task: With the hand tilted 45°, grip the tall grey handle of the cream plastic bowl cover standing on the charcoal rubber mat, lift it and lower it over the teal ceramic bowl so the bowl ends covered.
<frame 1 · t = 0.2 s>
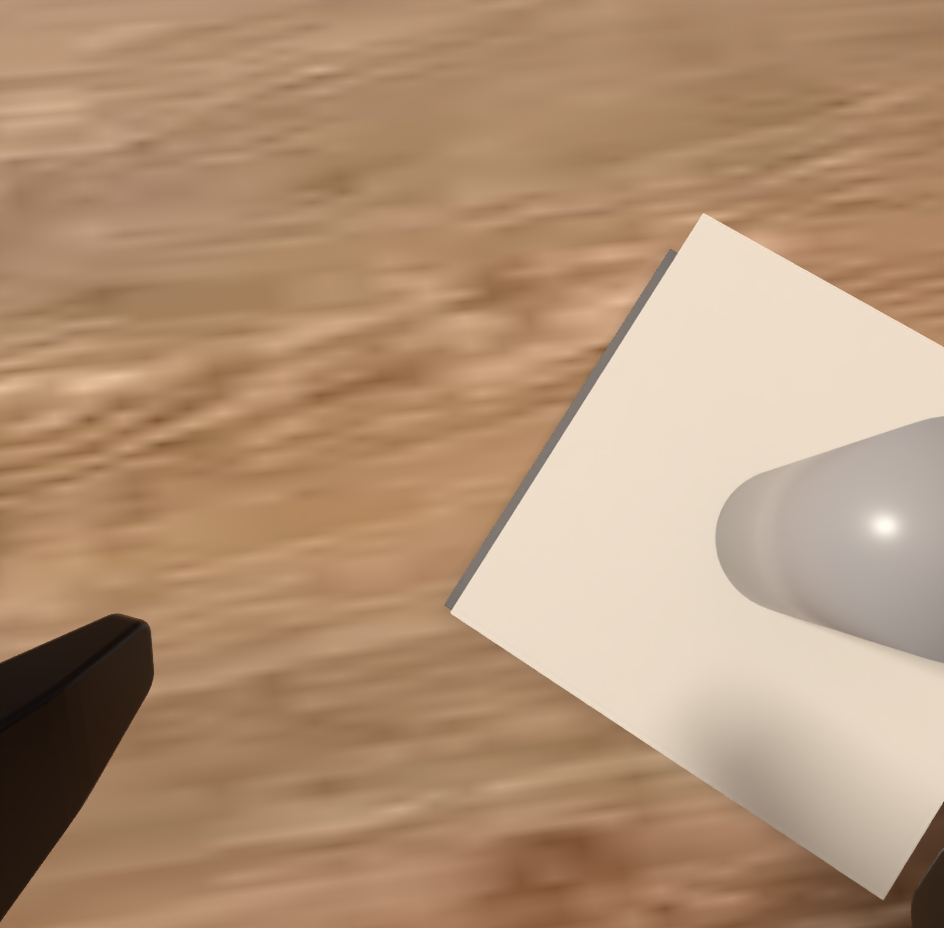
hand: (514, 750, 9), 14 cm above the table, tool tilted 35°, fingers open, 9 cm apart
charcoal rubber mat: (741, 540, 23), on the table
cream bowl cover: (744, 540, 22), resting on charcoal rubber mat
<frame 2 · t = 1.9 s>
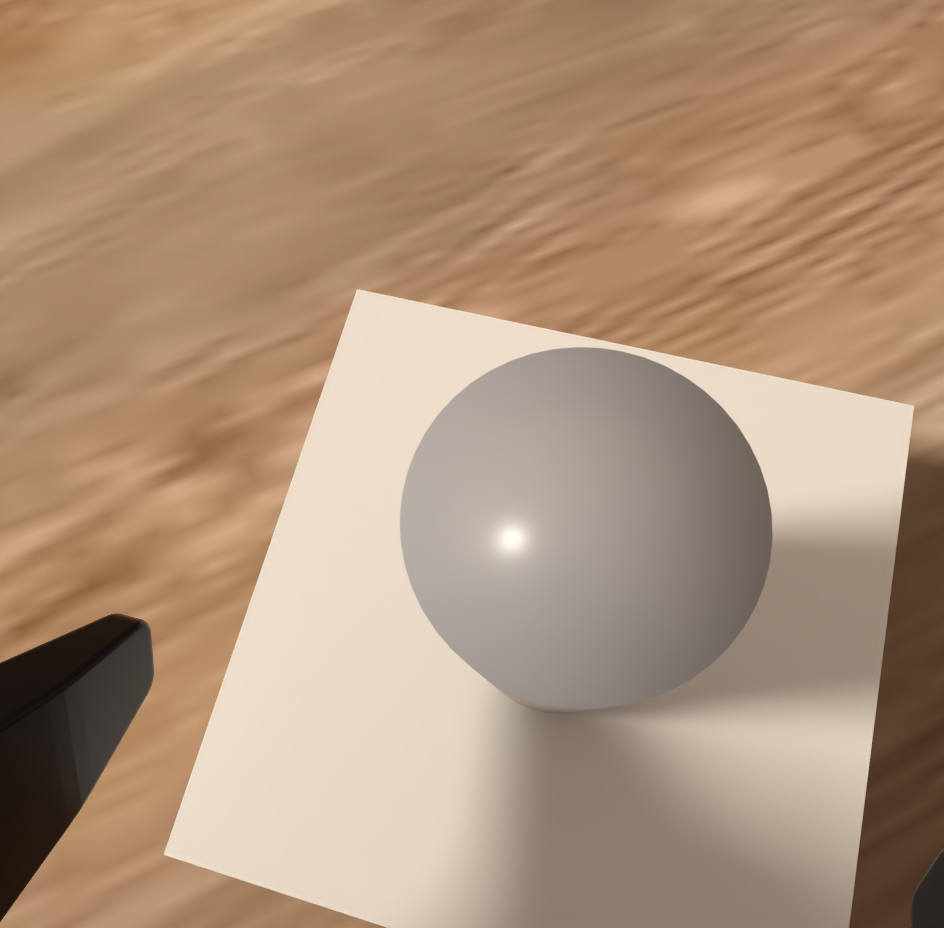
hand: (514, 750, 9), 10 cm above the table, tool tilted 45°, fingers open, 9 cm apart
cream bowl cover: (551, 640, 18), resting on charcoal rubber mat
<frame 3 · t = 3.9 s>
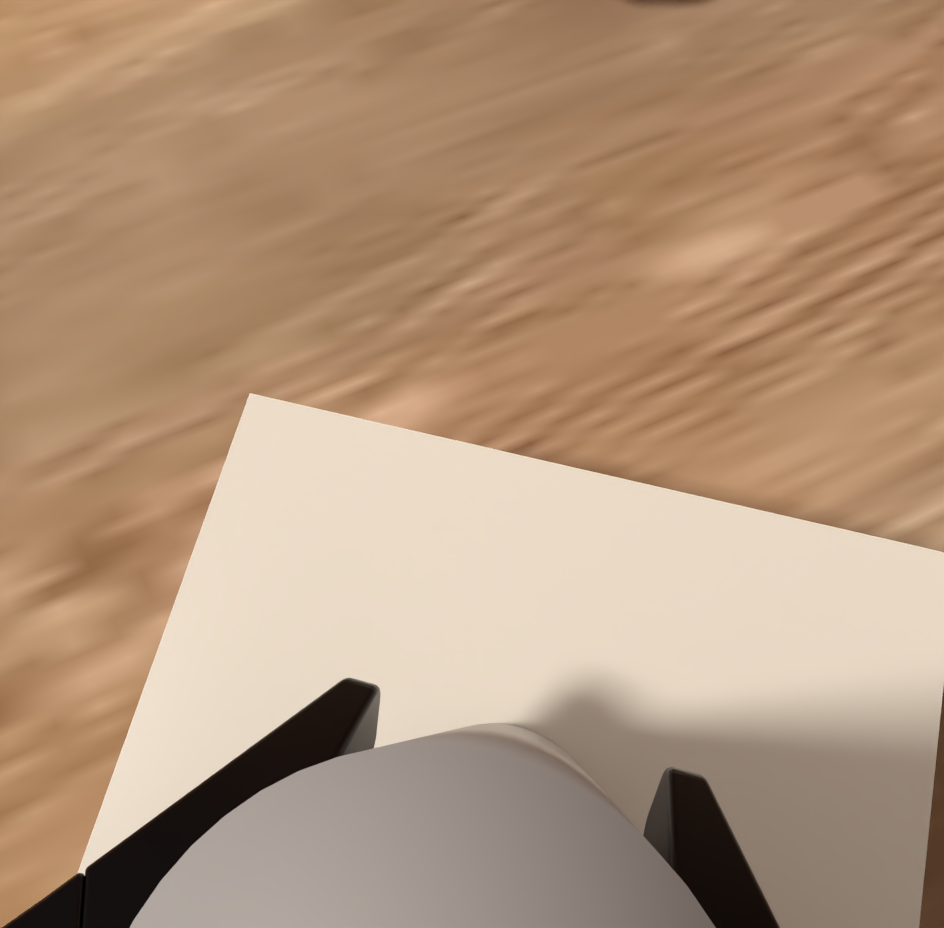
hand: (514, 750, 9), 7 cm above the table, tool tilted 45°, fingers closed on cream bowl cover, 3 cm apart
cream bowl cover: (503, 810, 15), resting on charcoal rubber mat, touching gripper
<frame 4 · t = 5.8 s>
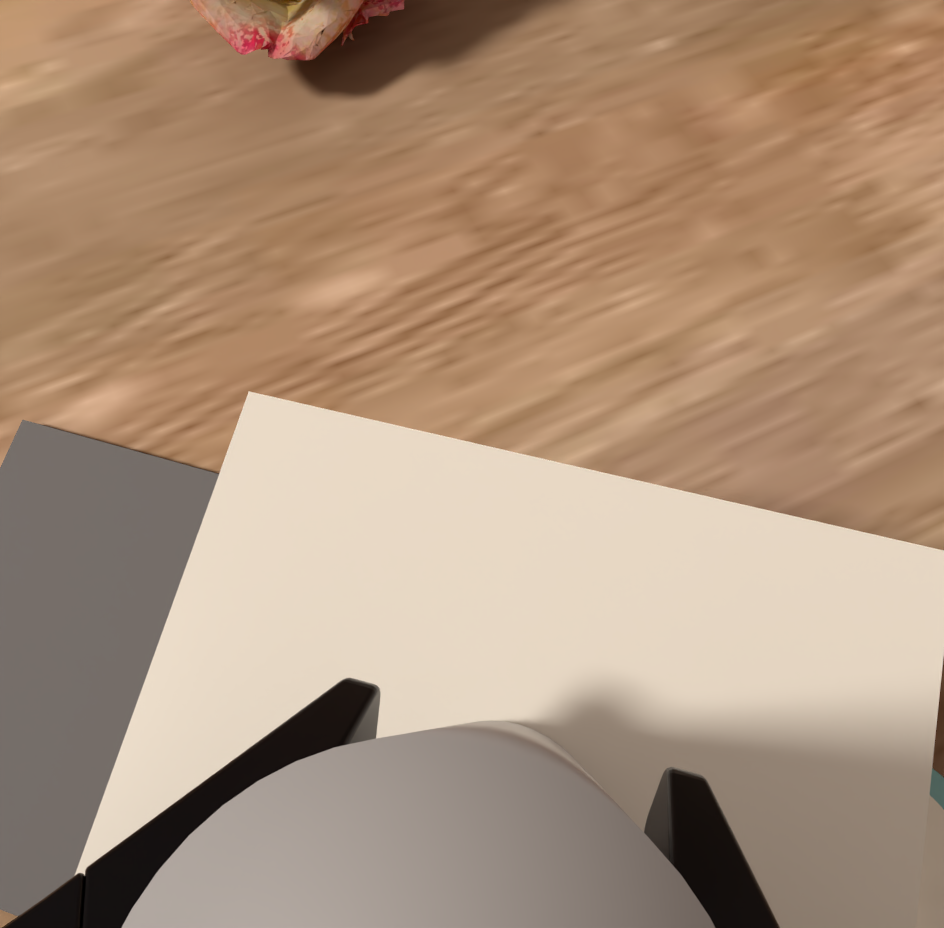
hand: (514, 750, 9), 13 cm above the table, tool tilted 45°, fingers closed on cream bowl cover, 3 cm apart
charcoal rubber mat: (132, 680, 22), on the table
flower: (315, 3, 29), on the table
cream bowl cover: (502, 808, 15), point 6 cm above the table, touching gripper
teal ceramic bowl: (804, 866, 20), on the table
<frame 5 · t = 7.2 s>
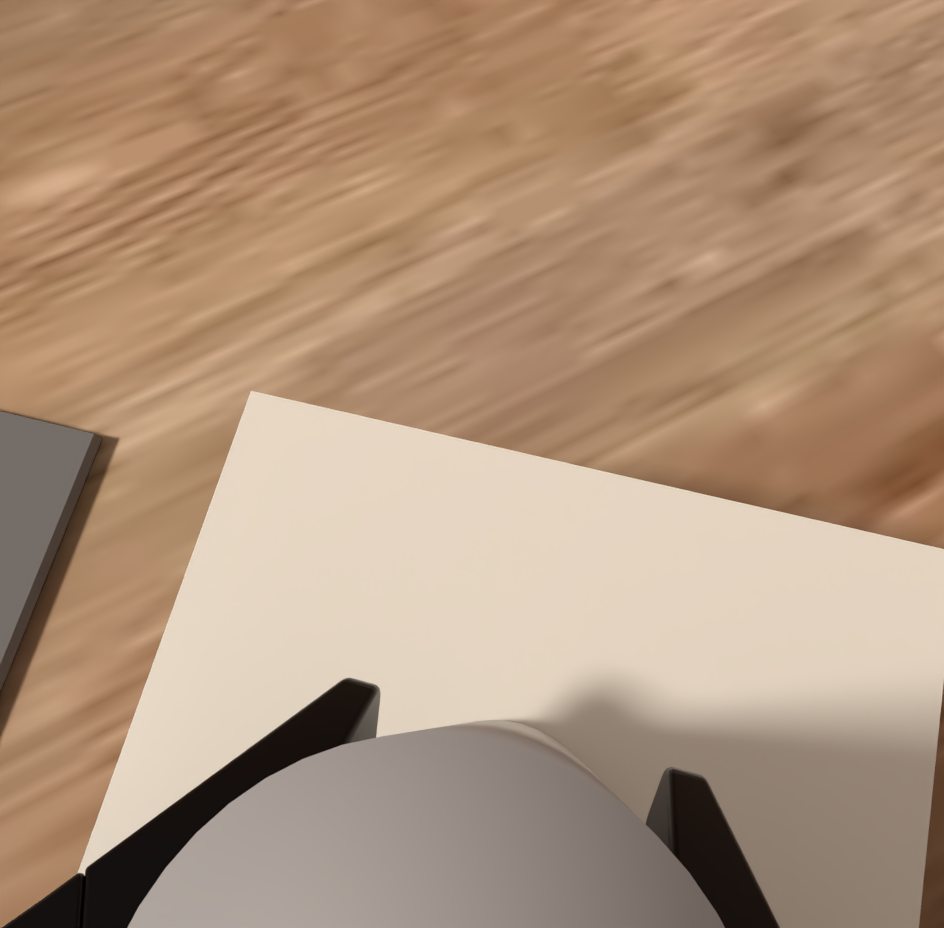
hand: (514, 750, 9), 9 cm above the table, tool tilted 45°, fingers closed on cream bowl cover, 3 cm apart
cream bowl cover: (504, 808, 15), point 2 cm above the table, touching gripper
when the fingers open (8 cm above the table, at t = 8.0 s): cream bowl cover drops 2 cm, on the table.
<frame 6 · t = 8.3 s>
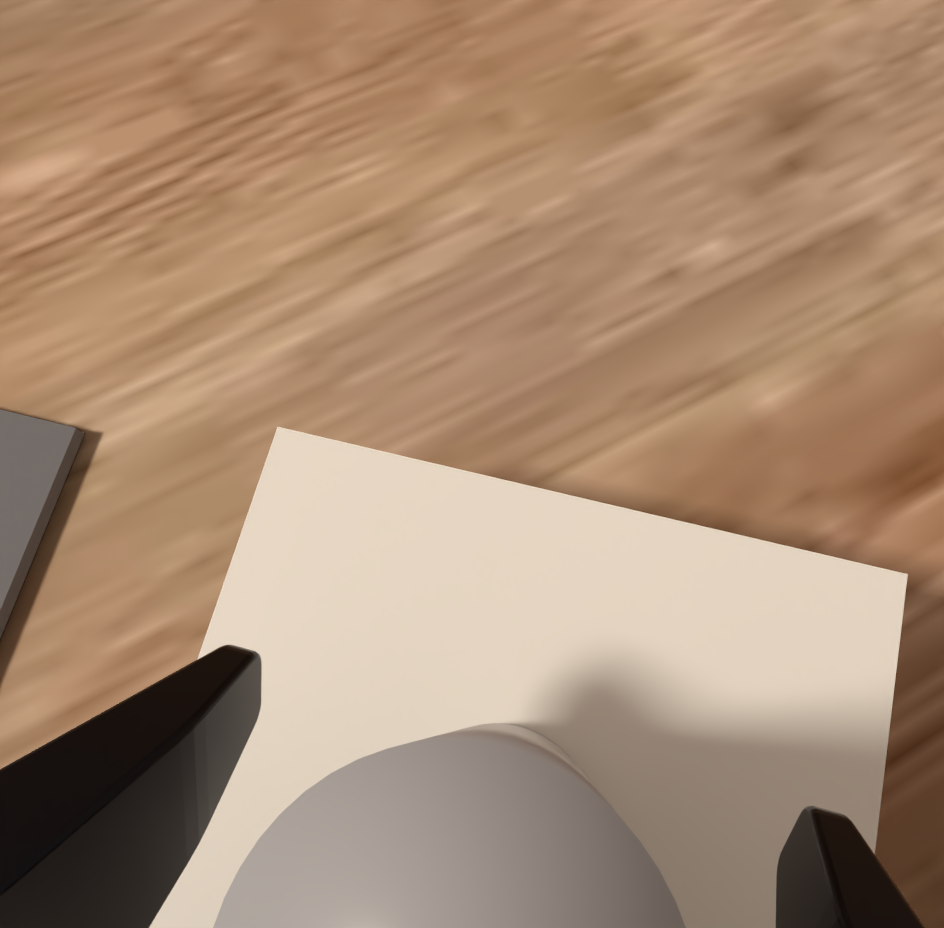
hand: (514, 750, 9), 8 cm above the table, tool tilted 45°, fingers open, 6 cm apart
cream bowl cover: (505, 802, 17), on the table
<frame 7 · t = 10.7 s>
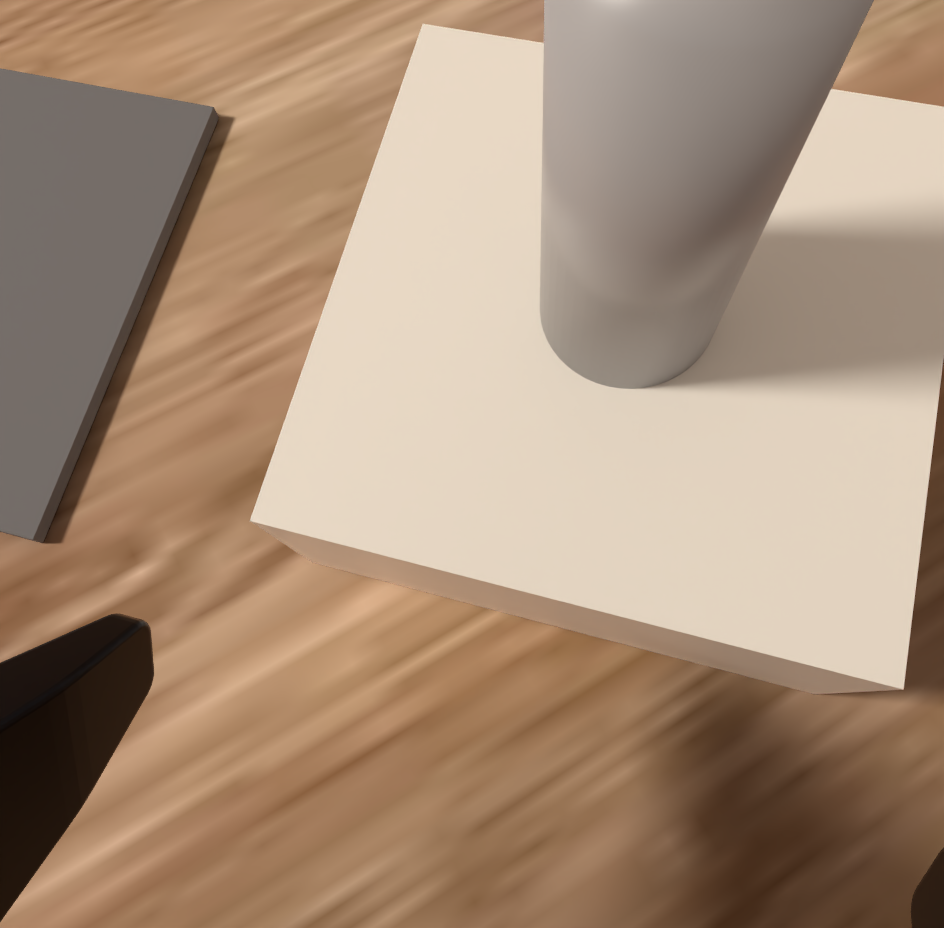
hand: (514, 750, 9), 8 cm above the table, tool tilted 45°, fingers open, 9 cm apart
cream bowl cover: (607, 392, 19), on the table
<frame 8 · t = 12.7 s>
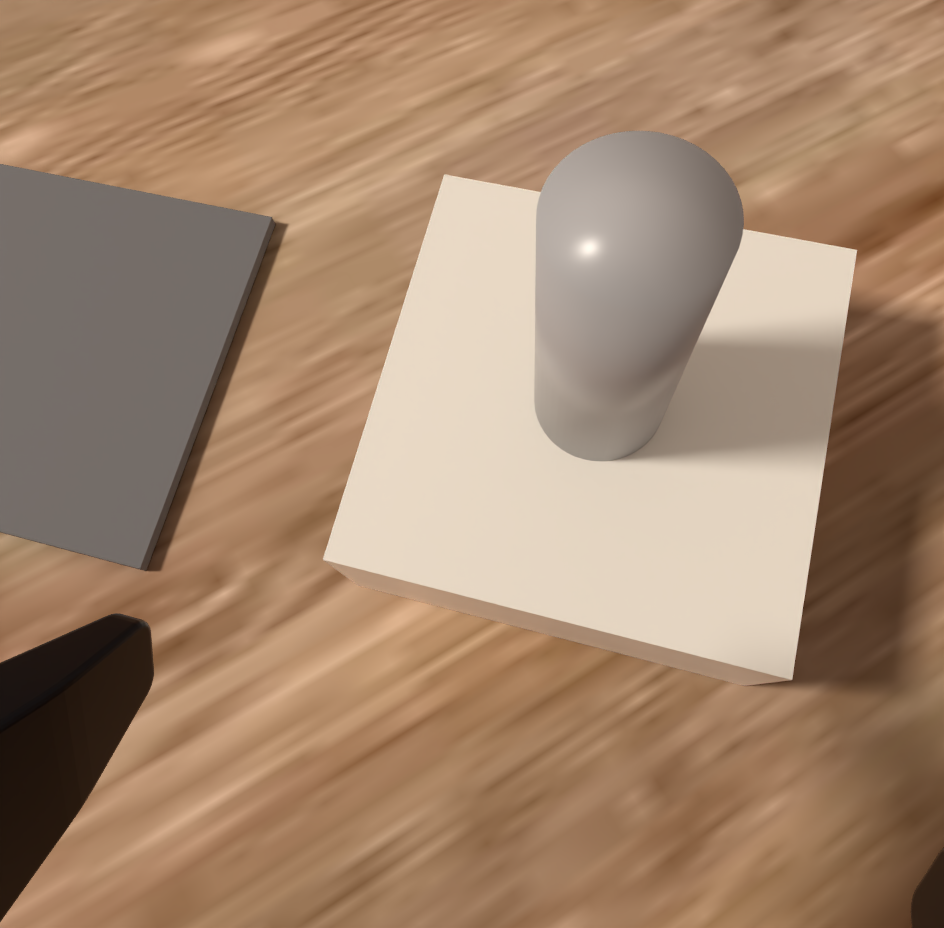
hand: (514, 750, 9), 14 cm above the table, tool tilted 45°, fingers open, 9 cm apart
charcoal rubber mat: (44, 347, 26), on the table
cream bowl cover: (587, 451, 24), on the table
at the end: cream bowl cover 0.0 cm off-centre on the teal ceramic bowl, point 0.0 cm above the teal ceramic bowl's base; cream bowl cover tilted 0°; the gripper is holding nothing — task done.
